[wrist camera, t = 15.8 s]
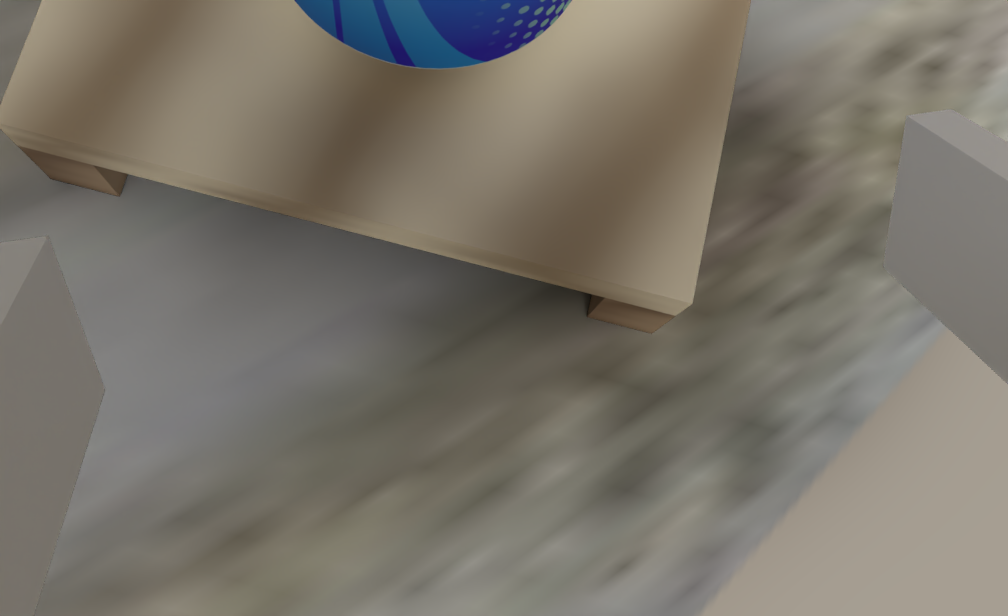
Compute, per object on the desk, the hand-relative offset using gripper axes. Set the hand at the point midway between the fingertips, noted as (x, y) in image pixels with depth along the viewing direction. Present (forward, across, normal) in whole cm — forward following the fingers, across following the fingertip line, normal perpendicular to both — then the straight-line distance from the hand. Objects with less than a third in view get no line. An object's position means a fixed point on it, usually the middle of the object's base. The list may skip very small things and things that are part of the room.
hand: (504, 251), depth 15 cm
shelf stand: (+16, 0, -1) cm, 17 cm away
